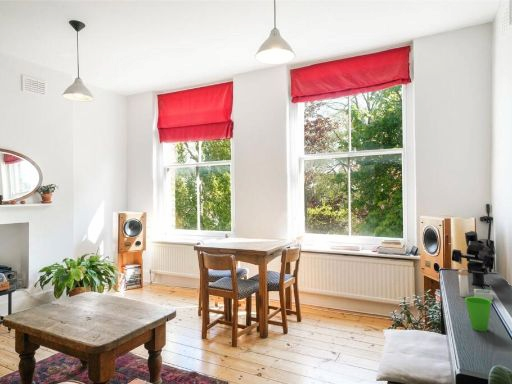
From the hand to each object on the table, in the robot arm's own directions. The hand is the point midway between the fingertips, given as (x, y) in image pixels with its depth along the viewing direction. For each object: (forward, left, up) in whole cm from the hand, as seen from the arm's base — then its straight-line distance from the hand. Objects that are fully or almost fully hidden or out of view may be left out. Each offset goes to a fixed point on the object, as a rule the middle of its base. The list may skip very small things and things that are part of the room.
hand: (471, 265), depth 170 cm
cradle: (+2, +4, -15) cm, 16 cm away
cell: (+3, -4, -15) cm, 16 cm away
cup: (+47, +3, -16) cm, 50 cm away
